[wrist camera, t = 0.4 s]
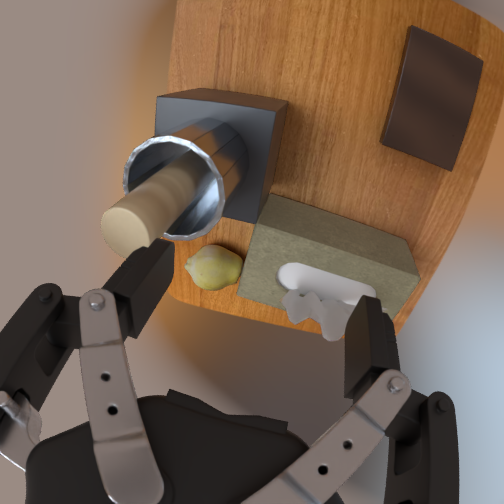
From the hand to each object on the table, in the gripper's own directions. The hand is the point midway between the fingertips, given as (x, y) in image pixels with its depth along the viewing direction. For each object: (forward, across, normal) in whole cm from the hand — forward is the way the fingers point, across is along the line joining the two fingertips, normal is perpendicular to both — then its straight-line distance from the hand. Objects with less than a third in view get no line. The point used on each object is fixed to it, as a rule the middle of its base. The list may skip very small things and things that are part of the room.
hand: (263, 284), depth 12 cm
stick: (+13, +7, 0) cm, 15 cm away
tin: (+14, +7, 0) cm, 15 cm away
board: (+24, -13, -10) cm, 29 cm away
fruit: (+24, +6, +17) cm, 30 cm away
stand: (+24, +7, 0) cm, 25 cm away
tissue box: (+24, -7, +12) cm, 27 cm away
